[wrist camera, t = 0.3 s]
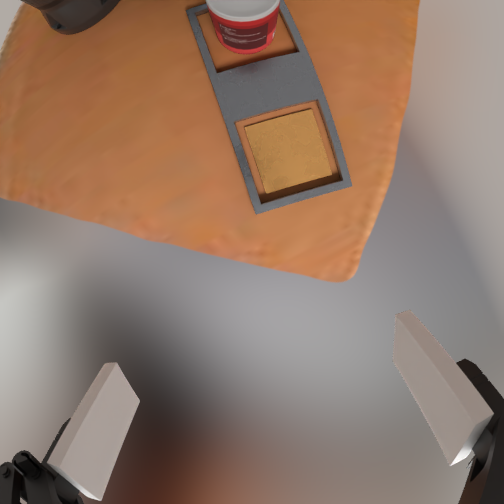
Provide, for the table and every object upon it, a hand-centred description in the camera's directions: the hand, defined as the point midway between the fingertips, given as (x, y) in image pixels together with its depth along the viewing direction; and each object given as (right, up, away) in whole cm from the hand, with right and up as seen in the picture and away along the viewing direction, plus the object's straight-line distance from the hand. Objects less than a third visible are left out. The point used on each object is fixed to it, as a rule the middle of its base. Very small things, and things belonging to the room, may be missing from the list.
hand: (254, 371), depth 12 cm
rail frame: (+2, +26, +20) cm, 33 cm away
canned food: (-1, +34, +18) cm, 39 cm away
